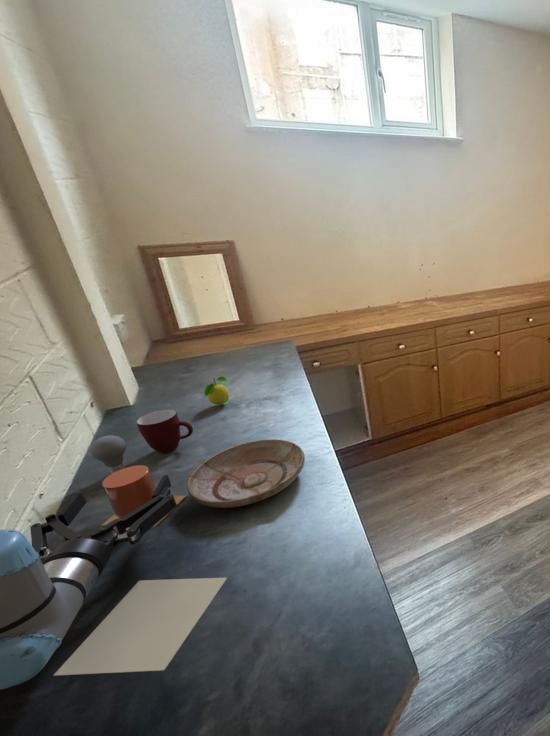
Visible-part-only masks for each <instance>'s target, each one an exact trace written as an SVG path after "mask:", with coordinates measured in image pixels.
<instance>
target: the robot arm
mask: <svg viewBox="0 0 550 736" xmlns="http://www.w3.org/2000/svg"><path fill="white" fill-rule="evenodd" d="M155 487H156V489H155V491H154V493H153V494H152V498H153V499H152V500H150V501H148V502H147V503H145V504H144V505H142V506H140V507H139V508H137V509H135V510H134V511H132V512H131V513H129V514H127V515H126V516H124V517H122V518H121V519H118V518H117V519H115V520H113V521H111V522H110V523H108V524H107V525H102V524H101V525H102V526H101V525H99V526H96V527H89V528H84V529H83V530H82V531H79V532H77V531H75V530H74V529H72V528H70V527H69V526H70V525H71V524H72V522H73V521H74V520H75V518H76V517H77V516H78V514H79V513H80V512H81V510H82V509H83V508H84V507H85V505H86V504H87V500H86V498H85V496H84V494H83V492H82V491H78V492H75V493H74V494H73V496H72V497H71V499H70V500H69V501H68V502H67V503H66V505H65V506H64V507H62V508H60V509H58V510H57V511H56V513H55V514H54V513H51V514H49V515H47V516H45V517H44V520H45V522H43V523H41V522H37V523H34V524H32V525H31V526H30V527H29V529H30V540H31V542H30V541H29V540H28V539H27V537H26V535H24V534H23V533H22V532H21V531H20V530H16V529H11V528H9V529H8V528H7V529H6V528H5V529H0V690H6V689H9V688H11V687H14V686H19V685H21V684H23V683H25V682H27V681H30V680H31V679H33V678H34V677H35V676H37V675H38V674H39V673H41V671H42V669H44V668H45V666H46V665H47V664H48V663H49V660H50V659H51V658H52V656H53V655H54V653H55V652H56V651H57V649H59V647H60V646H61V645H62V643H63V639H64V638H65V636H66V634H67V632H68V631H69V629H70V627H71V625H72V624H73V621H74V620H75V618H76V617H77V614H78V613H79V612H80V610H81V608H82V606H83V604H84V602H85V601H86V599H87V597H88V596H89V594H90V592H91V590H92V589H93V587H94V586H95V584H96V582H97V580H98V578H99V577H100V576H101V574H102V572H103V570H104V569H105V567H106V565H107V564H108V562H109V561H110V558H111V556H112V551H113V550H114V549H115V548H116V547H117V546H118V545H120V544H122V543H126V542H129V544H130V545H132V546H133V545H136V544H138V543H139V542H140V541H141V539H142V538H143V536H144V535H145V534H146V533H147V532H148V531H149V530H151V529H152V528H154V527H153V526H154V525H155V524H156V523H157V522H158V521H160V520H161V519H162V518H163V517H164V516H165V515H167V514H168V513H169V512H170V511H171V510H172V509H173V508H175V507H176V506H177V504H176V502H175V499H174V496H175V495H173V494H172V491H171V487H172V482H171V479H170V477H169V475H168V474H165V475H162V477H161V478H160V481H159V482H158V484H157V485H156V486H155ZM177 507H178V506H177ZM177 507H176V508H177ZM176 508H175V509H176ZM115 526H116V527H117V530H118V533H117V532H116V531H115V530H114V529H113V527H115ZM48 533H52V534H53V535H54V536H55V537H57V538H58V539H59V540H60V541H61V543H59V544H57V545H56V546H55V547H54V548H52V549H50V548H49V545H48V539H47V534H48Z"/></svg>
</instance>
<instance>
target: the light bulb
mask: <svg viewBox="0 0 550 736" xmlns="http://www.w3.org/2000/svg"><path fill="white" fill-rule="evenodd" d="M126 449H127V444H126V441H125V439H123V438H122V437H120V436H117V435H109V434H108V435H104V436H101V437H99V438H98V439H96V440H95V441H94V442H93V443H92V444H91V447H90V454H91V456H92V457H93V458H94V459H95V460H97V461H100V462H101V463H103V464H104V465H105V466H106V467H107V468H108V470H109V472H110V475H111V474H112V473H114V472H116V471H119V470H121V469H124V468H126V467H125V465H124V454H125V451H126Z"/></svg>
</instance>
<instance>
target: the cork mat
mask: <svg viewBox="0 0 550 736" xmlns="http://www.w3.org/2000/svg"><path fill="white" fill-rule="evenodd" d="M173 496H174V499H175V502H176V504H177V506H176V507H175V508H173V509H172V510H171V511H170V512H169V513H168V514H167V515H165V516H164V517H163V518H162V519H161V520H160V521H158V522H157V523H156V524H155V525H154V526H153V527H152V528H157V527H159V526H160V525H161V523H163V522H164V520H166V518H167V517H168V516H170V514H171V513H173V512H174V510H175V509H177V508H178V507H179V505H181V504H182V502H184V500H186V498H187V495H173ZM115 519H117V517H116V515H115V513H114V514H112V516H110V517H109V518H108V519H107V520H106V521H105V522H103V523H102V524H101V525H100V526H102V525H107V524H108V523H110V522H111V521H113V520H115ZM113 529H114V530H115V531H116V532H117V533H118V530H117V527H116V526H115V527H113Z"/></svg>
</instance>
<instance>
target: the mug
mask: <svg viewBox="0 0 550 736" xmlns="http://www.w3.org/2000/svg"><path fill="white" fill-rule="evenodd" d="M136 425H137V429H138V431H139V433H140V434H141V436H142V437H143V439H144V440H145V442H146V444H147V445H148V446H149V447H150V448H151V449H152V450H153V451H156V452H157V453H159V454H167V453H170V452H172V451H175V450H176V449H177V448H178V446H179V443H180V441H181V440H184V439H187V438H189V437H190V436H191V435H192V434H193V432H194V427H193V425H192V424H191V423H190V422H188V421H185V420H181V421H180V418H179V414H178V411H176V410H175V409H172V408H171V409H170V408H167V409H159V410H154V411H151V412H148V413H146V414H144V415H142V416H140V417H139V418H137V420H136ZM181 426H182V427H185V428H186V429H187V431H188V432H187V433H186V434H184V435H183V434H182V435H181Z"/></svg>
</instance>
